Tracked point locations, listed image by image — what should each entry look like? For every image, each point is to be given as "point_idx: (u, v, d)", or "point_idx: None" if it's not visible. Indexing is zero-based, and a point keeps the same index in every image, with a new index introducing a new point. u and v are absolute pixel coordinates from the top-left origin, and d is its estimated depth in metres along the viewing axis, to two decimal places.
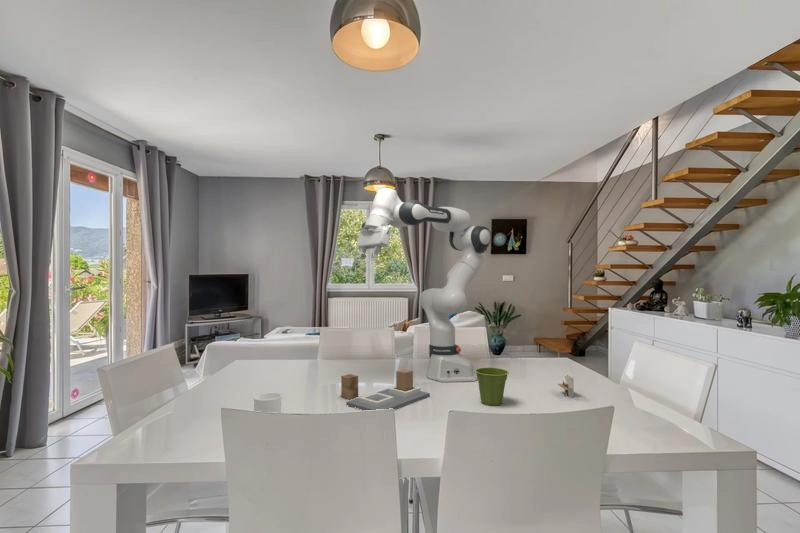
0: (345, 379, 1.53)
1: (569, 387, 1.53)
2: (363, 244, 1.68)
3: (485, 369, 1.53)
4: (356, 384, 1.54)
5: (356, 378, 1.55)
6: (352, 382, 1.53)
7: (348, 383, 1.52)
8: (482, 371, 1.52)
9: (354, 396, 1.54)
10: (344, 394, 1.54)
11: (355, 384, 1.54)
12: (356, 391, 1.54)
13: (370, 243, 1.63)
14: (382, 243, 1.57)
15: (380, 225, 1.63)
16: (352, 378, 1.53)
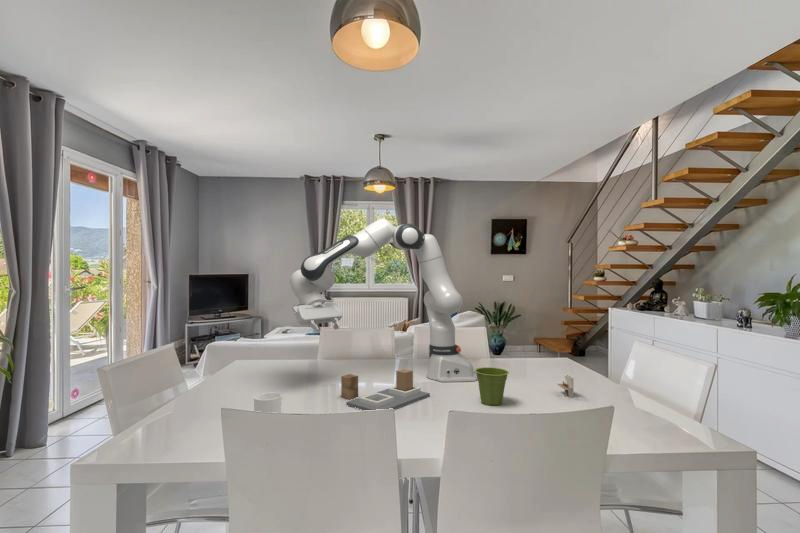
0: (345, 379, 1.53)
1: (569, 387, 1.53)
2: None
3: (485, 369, 1.53)
4: (356, 384, 1.55)
5: (356, 378, 1.55)
6: (352, 382, 1.53)
7: (348, 383, 1.52)
8: (482, 371, 1.52)
9: (354, 396, 1.54)
10: (344, 394, 1.54)
11: (355, 384, 1.54)
12: (356, 391, 1.54)
13: None
14: (300, 323, 1.59)
15: None
16: (352, 378, 1.53)
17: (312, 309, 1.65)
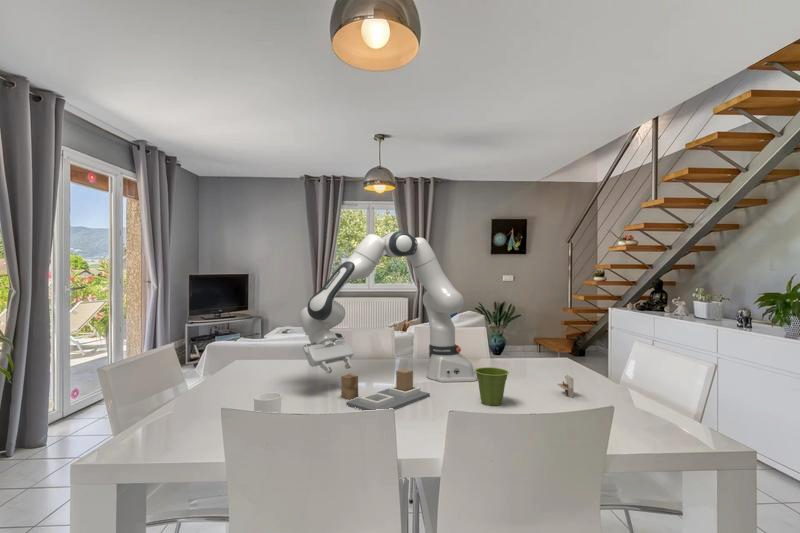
0: (345, 379, 1.53)
1: (569, 387, 1.54)
2: None
3: (485, 369, 1.53)
4: (356, 384, 1.55)
5: (356, 378, 1.55)
6: (352, 382, 1.53)
7: (348, 383, 1.52)
8: (482, 371, 1.52)
9: (354, 396, 1.54)
10: (344, 394, 1.54)
11: (355, 384, 1.54)
12: (356, 391, 1.54)
13: None
14: (311, 364, 1.54)
15: None
16: (352, 378, 1.53)
17: (323, 349, 1.60)
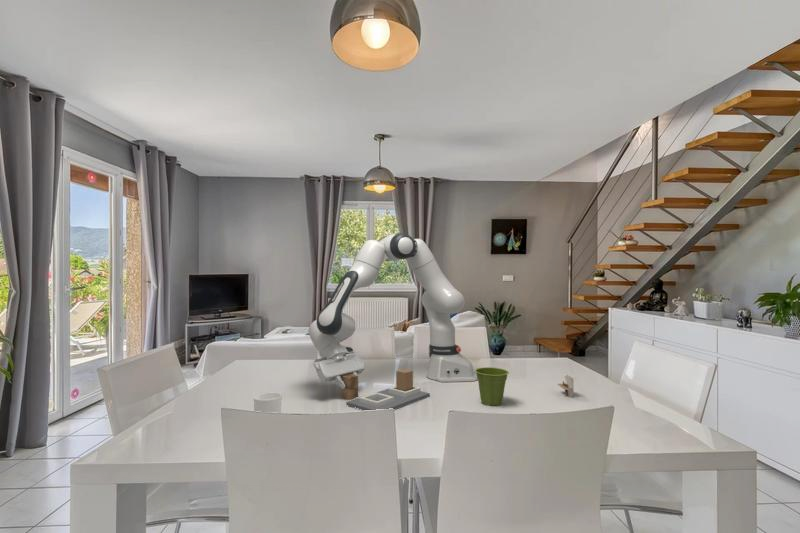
0: (345, 379, 1.53)
1: (569, 387, 1.54)
2: None
3: (485, 369, 1.53)
4: (356, 384, 1.54)
5: (356, 378, 1.55)
6: (352, 382, 1.53)
7: (348, 383, 1.52)
8: (482, 371, 1.52)
9: (354, 396, 1.54)
10: (344, 394, 1.54)
11: (355, 384, 1.54)
12: (356, 391, 1.54)
13: None
14: (322, 380, 1.50)
15: None
16: (352, 378, 1.53)
17: (334, 364, 1.56)
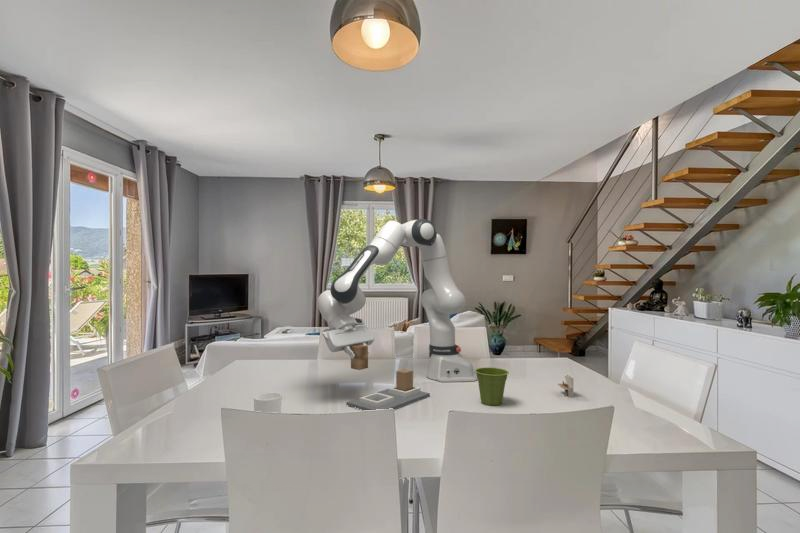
0: (355, 349, 1.50)
1: (569, 387, 1.54)
2: None
3: (485, 369, 1.53)
4: (366, 354, 1.51)
5: (366, 348, 1.51)
6: (362, 352, 1.50)
7: (358, 353, 1.49)
8: (482, 371, 1.52)
9: (364, 366, 1.51)
10: (354, 364, 1.51)
11: (365, 354, 1.51)
12: (365, 361, 1.51)
13: None
14: (331, 350, 1.47)
15: None
16: (362, 348, 1.50)
17: (343, 334, 1.53)
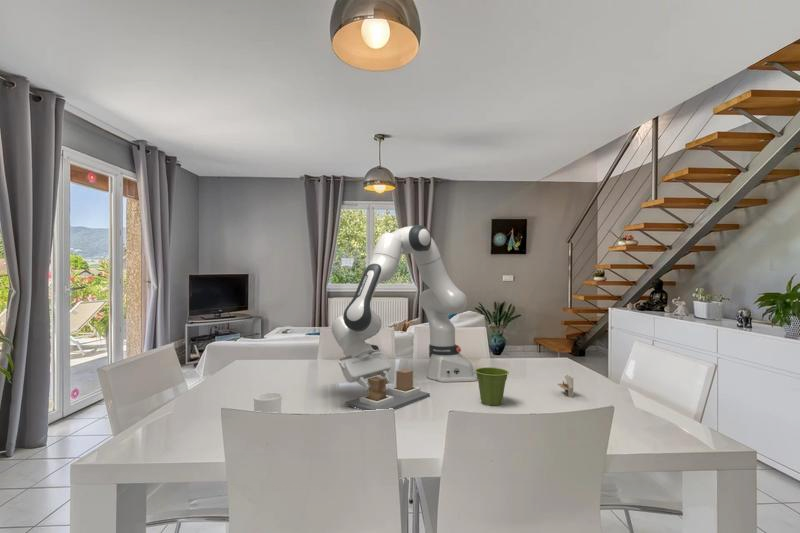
0: (373, 382, 1.44)
1: (569, 387, 1.54)
2: None
3: (485, 369, 1.53)
4: (384, 387, 1.45)
5: (384, 381, 1.45)
6: (380, 385, 1.44)
7: (376, 386, 1.43)
8: (482, 371, 1.52)
9: None
10: (371, 398, 1.44)
11: (383, 387, 1.45)
12: (383, 395, 1.45)
13: None
14: (348, 380, 1.41)
15: None
16: (380, 381, 1.44)
17: (360, 363, 1.47)
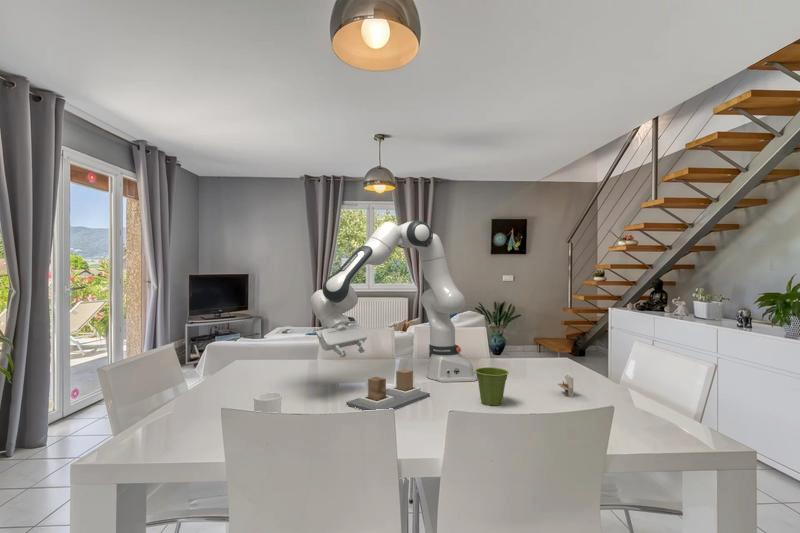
0: (373, 382, 1.44)
1: (569, 387, 1.54)
2: None
3: (485, 369, 1.53)
4: (384, 387, 1.45)
5: (384, 381, 1.45)
6: (380, 385, 1.44)
7: (376, 386, 1.43)
8: (482, 371, 1.52)
9: None
10: (371, 398, 1.44)
11: (383, 387, 1.45)
12: (383, 395, 1.45)
13: None
14: (325, 348, 1.50)
15: None
16: (380, 381, 1.44)
17: (336, 332, 1.55)
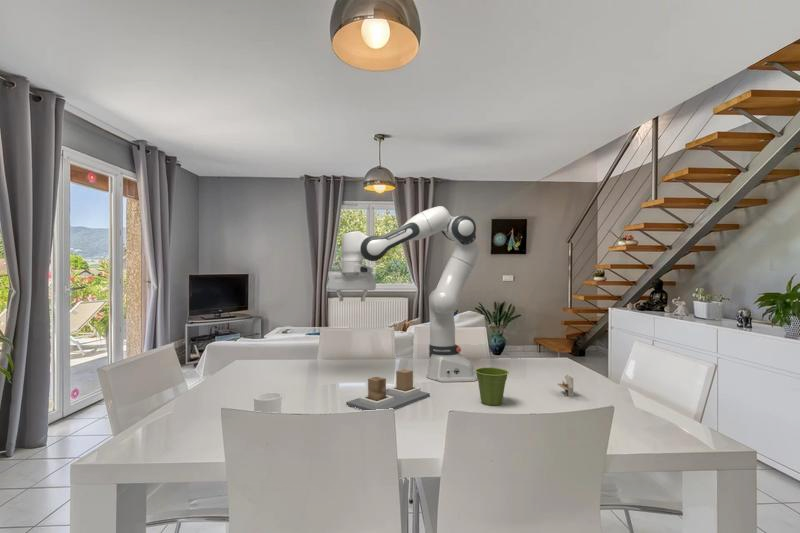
0: (373, 382, 1.44)
1: (569, 387, 1.54)
2: None
3: (485, 369, 1.53)
4: (384, 387, 1.45)
5: (384, 381, 1.45)
6: (380, 385, 1.44)
7: (376, 386, 1.43)
8: (482, 371, 1.52)
9: None
10: (371, 398, 1.44)
11: (383, 387, 1.45)
12: (383, 395, 1.45)
13: None
14: None
15: None
16: (380, 381, 1.44)
17: (343, 279, 1.77)
